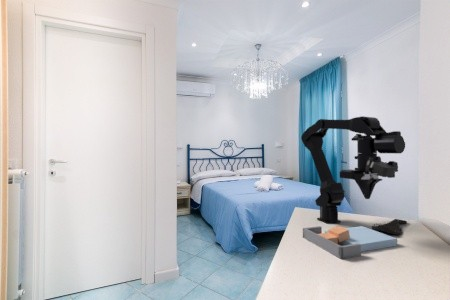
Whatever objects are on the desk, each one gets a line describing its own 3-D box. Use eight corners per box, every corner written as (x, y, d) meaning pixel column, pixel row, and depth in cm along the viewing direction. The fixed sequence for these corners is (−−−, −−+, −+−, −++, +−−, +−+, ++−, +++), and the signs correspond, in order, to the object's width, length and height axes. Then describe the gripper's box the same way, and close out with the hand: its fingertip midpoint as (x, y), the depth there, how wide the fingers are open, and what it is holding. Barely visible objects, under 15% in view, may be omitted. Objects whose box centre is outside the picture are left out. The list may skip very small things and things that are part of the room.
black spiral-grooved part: (416, 217, 89) (394, 227, 74) (416, 227, 89) (394, 238, 74) (391, 213, 96) (366, 221, 81) (391, 222, 96) (366, 231, 80)
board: (324, 237, 75) (324, 230, 75) (362, 231, 80) (362, 226, 80) (355, 252, 64) (355, 245, 64) (397, 245, 69) (397, 238, 69)
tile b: (317, 242, 70) (317, 234, 70) (327, 240, 71) (327, 232, 71) (327, 247, 66) (327, 238, 66) (337, 245, 67) (337, 237, 67)
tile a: (329, 237, 71) (328, 229, 71) (339, 233, 72) (338, 225, 72) (339, 242, 67) (338, 234, 67) (350, 237, 68) (348, 229, 68)
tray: (302, 237, 75) (302, 228, 75) (319, 235, 77) (319, 226, 77) (340, 259, 60) (340, 247, 60) (361, 255, 62) (360, 244, 62)
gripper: (367, 153, 68) (367, 206, 68) (411, 153, 74) (411, 201, 74) (338, 153, 79) (338, 198, 79) (378, 153, 84) (379, 195, 84)
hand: (367, 198), depth 78 cm, fingers closed
